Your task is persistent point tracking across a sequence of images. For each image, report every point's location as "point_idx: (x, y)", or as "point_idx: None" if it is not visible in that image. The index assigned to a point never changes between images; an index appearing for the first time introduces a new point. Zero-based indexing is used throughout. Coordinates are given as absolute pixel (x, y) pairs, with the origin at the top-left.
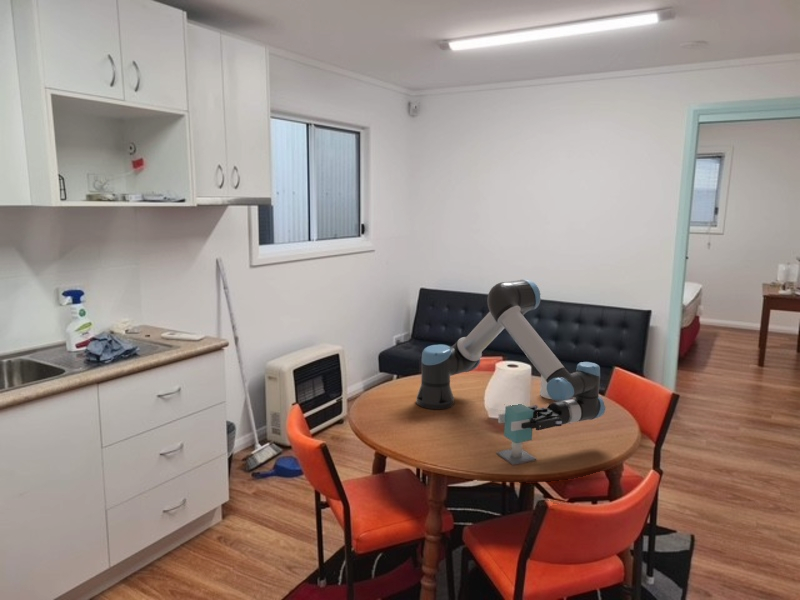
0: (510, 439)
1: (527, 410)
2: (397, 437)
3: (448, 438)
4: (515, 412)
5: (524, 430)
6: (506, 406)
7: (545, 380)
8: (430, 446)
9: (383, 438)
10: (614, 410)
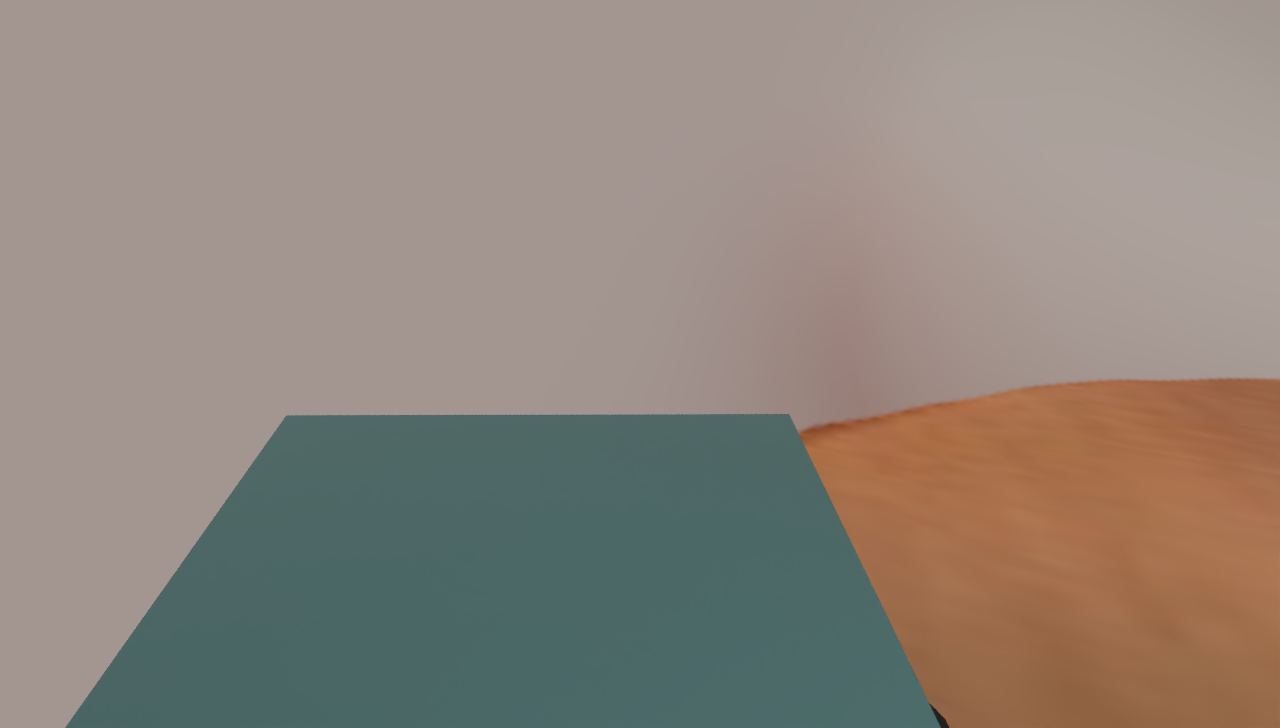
0: None
1: (159, 688)
2: (1140, 457)
3: (1218, 707)
4: (359, 428)
5: None
6: (787, 425)
7: None
8: (997, 547)
9: (1107, 413)
10: None
